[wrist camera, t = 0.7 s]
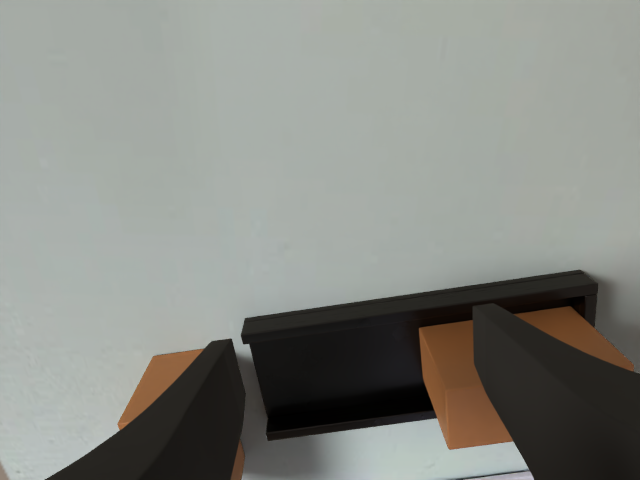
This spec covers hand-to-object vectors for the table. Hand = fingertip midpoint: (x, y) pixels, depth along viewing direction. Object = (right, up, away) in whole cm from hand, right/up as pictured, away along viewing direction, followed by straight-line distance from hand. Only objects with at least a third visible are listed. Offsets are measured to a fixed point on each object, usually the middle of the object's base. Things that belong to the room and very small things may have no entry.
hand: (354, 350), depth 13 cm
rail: (+4, -3, +11) cm, 12 cm away
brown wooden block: (+8, -2, +11) cm, 14 cm away
